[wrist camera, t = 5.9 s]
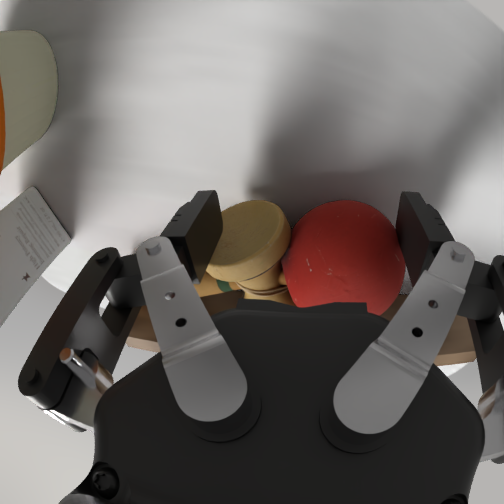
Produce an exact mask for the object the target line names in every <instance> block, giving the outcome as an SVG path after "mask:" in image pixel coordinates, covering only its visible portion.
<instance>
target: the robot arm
mask: <svg viewBox="0 0 504 504" xmlns="http://www.w3.org/2000/svg"><path fill="white" fill-rule="evenodd" d="M222 231H223V220H222V215H221V210H220V205H219V200H218V195H217V192H216V191H215V190H208V191H198V192H197V193H196V195H195V196H194V198H193V199H192V200H191V202H187V203H186V204H185V205H183V206H182V207H180V208H179V210H178V211H177V212H176V214H175V216H173V218H172V219H171V222H169V223H168V225H167V226H166V228H165V229H164V231H163V232H162V233H161V235H160V236H159V237H154V238H151V239H148V240H146V241H145V242H143V243H142V244H141V245H140V246H139V247H138V248H137V250H136V254H132V255H127V256H123V257H121V256H120V254H119V252H118V250H117V249H116V248H113V247H108V248H104V249H102V250H100V251H98V252H96V253H95V254H94V255H93V256H92V257H91V258H90V259H89V261H88V262H87V264H86V265H85V266H84V268H83V269H82V271H81V272H80V273H79V275H78V276H77V278H76V279H75V281H74V282H73V284H72V285H71V287H70V288H69V290H68V291H67V293H66V294H65V296H64V297H63V299H62V300H61V302H60V304H59V305H58V306H57V308H56V310H55V311H54V313H53V315H52V316H51V318H50V319H49V321H48V323H47V324H46V326H45V328H44V330H43V331H42V333H41V335H40V337H39V338H38V340H37V342H36V344H35V345H34V347H33V349H32V351H31V353H30V355H29V357H28V359H27V360H26V362H25V364H24V366H23V368H22V370H21V372H20V375H19V379H18V387H19V390H20V392H21V393H22V394H23V395H24V396H26V397H27V398H28V399H30V400H31V401H32V402H33V403H35V404H36V405H37V406H38V407H39V408H40V409H41V410H42V411H44V412H45V413H47V414H48V415H49V416H51V417H52V418H54V419H55V420H57V421H58V422H60V423H62V424H65V425H66V426H68V427H69V428H71V429H73V430H74V431H76V432H84V431H86V430H89V431H91V432H94V435H95V453H94V461H93V466H92V469H91V470H90V472H89V474H88V476H87V477H86V478H85V479H84V481H83V482H82V483H81V484H80V485H79V486H78V487H77V488H76V489H74V490H73V491H72V492H71V493H70V494H68V495H67V496H66V497H65V498H63V499H62V500H61V501H60V502H59V504H468V498H469V493H470V489H471V485H472V481H473V478H474V475H475V472H476V469H477V466H478V464H479V462H482V461H486V460H490V459H491V460H492V461H493V462H494V463H497V464H501V463H504V330H503V327H502V324H501V321H500V318H499V315H500V314H501V312H502V311H503V314H504V256H502V255H498V256H495V257H494V259H493V261H492V263H491V265H488V264H485V263H481V262H478V261H475V257H474V254H473V252H472V251H471V250H470V249H469V248H468V247H467V246H465V245H463V244H461V243H459V242H455V240H454V238H453V236H452V235H451V233H450V231H449V229H448V228H447V226H446V225H445V223H444V221H443V220H442V218H441V216H440V214H439V213H438V211H437V210H436V209H434V208H433V207H432V206H431V205H429V204H426V203H425V201H424V200H423V198H422V197H421V195H420V194H419V193H418V192H402V193H401V196H400V202H399V208H398V214H397V220H396V233H397V237H398V242H399V245H400V248H401V251H402V254H403V257H404V260H405V264H406V267H407V270H408V273H409V276H410V280H411V283H412V287H413V289H412V291H411V292H410V294H409V295H408V297H407V299H406V300H405V302H404V303H403V304H402V306H401V307H400V309H399V310H398V312H397V313H396V315H395V316H394V317H393V319H392V320H391V321H389V320H387V319H385V318H383V317H381V316H379V315H376V314H373V313H369V312H368V311H367V302H333V303H327V304H321V305H316V306H310V307H296V306H292V305H288V304H284V303H280V302H276V301H272V300H263V299H244V298H239V299H238V302H237V306H236V308H231V309H226V310H223V311H220V312H218V313H215V314H213V315H211V316H209V314H208V312H207V310H206V308H205V306H204V304H203V302H202V300H201V299H200V297H199V295H198V293H197V291H196V289H195V287H194V285H193V284H200V283H201V281H202V278H203V276H204V274H205V271H206V269H207V267H208V264H209V262H210V260H211V257H212V255H213V253H214V251H215V248H216V246H217V244H218V241H219V239H220V237H221V235H222ZM105 295H106V297H107V299H108V300H109V304H108V305H107V307H106V309H105V311H104V313H103V315H102V317H100V314H99V306H100V303H101V301H102V300H103V298H104V296H105ZM144 305H147V309H148V312H149V316H150V319H151V322H152V325H153V329H154V332H155V335H156V338H157V341H158V344H159V347H160V350H161V351H160V352H159V353H157V354H156V355H155V356H153V357H152V358H150V359H149V360H148V361H146V362H145V363H143V364H142V365H140V366H139V367H138V368H136V369H135V370H133V371H132V372H131V373H129V374H128V375H126V376H125V377H124V378H122V379H120V380H119V381H118V382H116V383H115V384H113V383H114V382H113V377H112V374H113V371H114V369H115V366H116V364H117V361H118V359H119V356H120V354H121V352H122V349H123V347H124V345H125V343H126V340H127V338H128V336H129V334H130V331H131V329H132V327H133V325H134V322H135V320H136V318H137V316H138V314H139V312H140V309H141V307H142V306H144ZM456 315H459V316H463V317H466V318H467V320H468V324H469V328H470V332H471V336H472V340H473V344H474V348H475V353H476V358H477V362H478V367H479V373H480V379H481V385H482V391H483V395H482V396H481V398H480V400H479V403H478V410H477V409H476V408H475V407H474V405H473V404H472V403H471V402H470V401H469V400H468V399H467V398H466V397H465V395H464V394H463V393H462V392H461V391H460V390H459V389H458V388H457V387H456V386H455V385H454V384H453V383H452V382H451V380H450V379H449V378H448V377H447V376H446V375H445V374H444V373H443V372H442V371H441V370H440V369H439V368H438V367H437V366H436V365H435V364H434V363H433V362H434V360H435V358H436V356H437V354H438V352H439V350H440V348H441V346H442V344H443V342H444V340H445V338H446V336H447V334H448V332H449V330H450V328H451V325H452V323H453V321H454V319H455V316H456Z"/></svg>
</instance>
